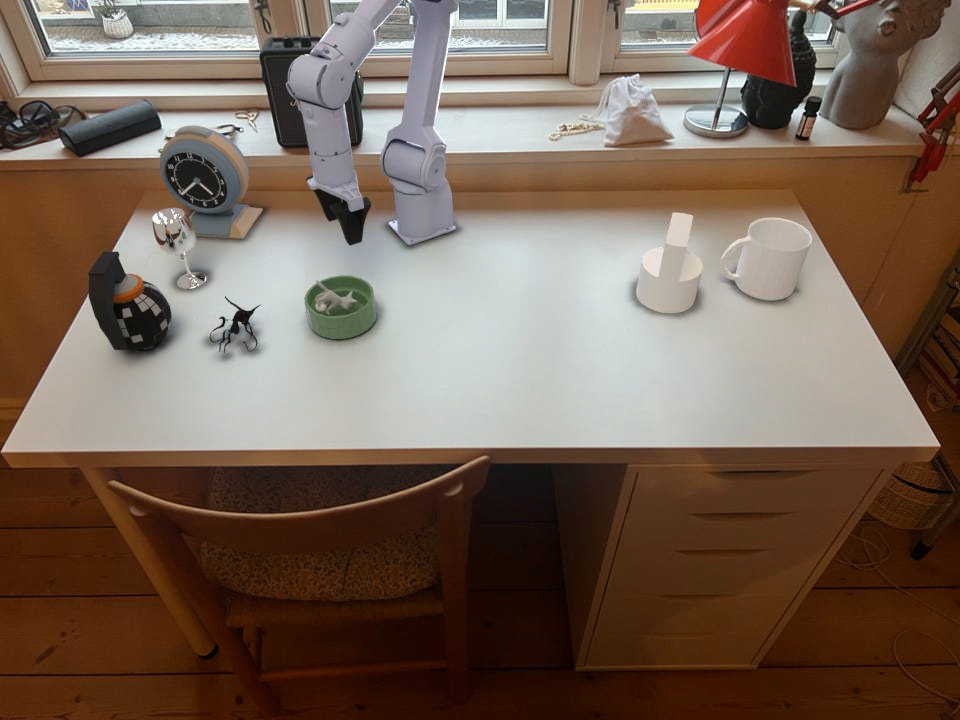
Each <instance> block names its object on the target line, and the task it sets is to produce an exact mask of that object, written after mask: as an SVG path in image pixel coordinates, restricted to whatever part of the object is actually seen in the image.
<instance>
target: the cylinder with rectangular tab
mask: <svg viewBox="0 0 960 720" xmlns="http://www.w3.org/2000/svg"><path fill="white" fill-rule="evenodd" d="M693 220H694V215H692V214H688V213H684V212H676V211H675V212H672V214H671V218H670V222H669V227H668V230H667V234H666V237H665V242H664V246H658V247H653V248H651V249H649V250H647V251H646V252H645V253H643V255H642V257H641V261H640V267H639V273H638V277H637V283H636V288H635V289H636V290H635V295H636V298H637V300H638V301H639V303H640V304H642V305H643V306H644V307H645V308H647V309H650V310H652V311H654V312H657V313H661V314H680V313H682V312H685V311H688V310H689V309H691V307H693V306H694V304H695V301H696V297H697V294H698V290H699V286H700V283H701V282H700V281H701V278H702V274H703V270H704V266H703V264H704V263H703V262H702V260H701V258H700V257H698V256H697V255H696V254H694V253H693V252H692V251H691V250H687V248H688V244H689V238H690V234H691V229H692V224H693Z"/></svg>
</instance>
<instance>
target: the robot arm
mask: <svg viewBox="0 0 960 720" xmlns="http://www.w3.org/2000/svg"><path fill="white" fill-rule="evenodd" d="M403 1H404V0H361V1H360V2H359V4H358V6H357V7H356V8H355V10H354V11H353V12H352V11H351V12H350V11H346V12H342V13H340V14H337V15H336V16H335V18H334V19H333V23H332V25H331V26H330V27H329V28H328V29H327V31H326V32H325V33H324V35H323V36H322V37H321V38H320V40H319V41H318V42H317V43H316V45H315V46H314V47H313V48H312V50H311V51H310V52H309V54H308V53H304V54H301V55H299V56H298V57H297V58H295V59H294V60H293V61H292V62H291V63H290V66H289V68H288V72H287V82H286V83H285V86H286V90H287V92H288V93H289V95H290V96H291V98H293V100H295V101H296V106H297V109H298V111H299V112H300V113H301V116H302V120H303V126H304V130H305V135H306V140H307V141H306V142H307V146H308V151H309V160H310V161H309V162H310V166H311V169H312V175H308V176H307V177H306V178H305V182H306V185H307V186H308V188H309V189H310V190H312V191H313V193H314V194H315V196H316V198H317V200H318V202H319V204H320V207H321V209H322V211H323V213H324V216H325V218H326V220H327V221H328V222H330V223H331V222H333V221H336V220H337V221H338V223H339V225H340V228H341V231H342V234H343V238H344V239H345V241H346V243H347V245H348V246H354V245H357V244H359V243H362V242H363V237H364V228H365V223H366V218H367V216H368V213H369V211H370V210H371V208H372V201H371V200H370V199H369V198H368V197H367V196H364V197H363V195H362V193H361V192H360V188H359V181H358V173H357V171H356V170H355V164H354V157H353V152H352V144H351V137H350V132H349V131H350V130H349V126H348V125H349V124H348V117H347V112H346V111H347V110H346V104H345V103H346V102H347V101H348V100H349V98H350V96H351V92H352V86H353V83H354V81H355V80H356V72H357V71H358V69H359V68H360V67H361V65H362V64H363V63H364V61H365V60H366V59H367V57H368V56H369V55H370V53H372V51H373V49H374V48H375V47H376V44H377V37H376V31H377V30H378V28H379V27H381V25H382V24H383V23H384V22H385V21H386V20H387V18H388V17H389V16H390V15H392V13H393V12H394V11H395V10H396V9H397V8H398V6H400V4H401V3H402V2H403ZM407 1H408V2H409V4H412V7H413V8H414V10H415V12H416V14H417V21H416V28H415V34H414V39H413V40H414V41H413V45H412V46H413V47H412V54H411V59H410V68H409V71H408V78H407V85H406V92H405V97H404V98H405V99H404V104H403V111H402V118H401V122H400V123H398V124H397V125H395V126H393V127H392V128H390V129H389V130H388V131H387V134H386V140H385V143H384V145H383V147H382V149H381V152H380V156H379V166H380V170H381V171H382V172H381V173H382V174H383V175H385V176H386V177H388V182H389V184H391V185H392V186H393V197H394V198H393V199H394V206H395V207H394V209H395V216H396V219H394V220H391V221H389V222H388V226H389V227H390V229H392V230H393V231H394V232H395V233H396V235H397V236H398V237H399V238H400V239H401V240H402V241H403V242H404V243H405V244H406V245H407V246H413V245H416V244H418V243H421V242H422V243H423V242H424V241H428V240H431V239H434V238H437V237H439V236H442V235H445V234H448V233H451V232H454V231H456V229H457V227H456V225H454V224H455V223H454V203H453V202H454V201H453V192H452V189H451V185H450V184H449V181H448V180H447V179H446V177H445V176H446V172H447V161H446V153H447V152H446V151H447V143H446V142H445V140H444V139H443V138H442V136H441V135H440V134H439V132H438V131H437V129H436V121H437V115H438V111H439V104H440V98H441V92H442V87H443V82H444V76H445V70H446V65H447V64H446V63H447V58H448V52H449V46H450V41H451V36H452V29H453V24H454V18H455V14H456V12H457V11H459V6H460V1H461V0H407Z"/></svg>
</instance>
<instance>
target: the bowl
mask: <svg viewBox="0 0 960 720" xmlns="http://www.w3.org/2000/svg"><path fill="white" fill-rule="evenodd" d="M318 281H319V282H320V283H322V284H323V285H324V286H325V287H326V288H327V289H328V290H331V291H333V292H334V293H335V294H337V295H338V296H339V297H346V296H347V295H348V294H349V293H350V292H351V291H353V292H352V298H353V299H354V300H357V302H354V306H353V307H352V309H353V312H352V313H350V314H349V312H347V311H345V310H343V309H342V308H341V307H338V308H333V309H331V310H329V313H330V314H329V315H328V314H327V313H326V311H325V312H322V313H321V312H318V311H317V310H316V309H315V305H316V301H315V298H316V296H317V295H318V294H321V293H322V292H324V291H325V290H323V289H322V288H320V287H319V286H318V284H317V282H315V283H314V284H313V285H312V286H311V287H309V289H307V291H306V293H305V295H304V298H303V299H304V307H305V311H306V315H307V319H308V324H309V326H310V328H311V329H312V331H313V332H314V333H315V334H317V335H319V336H320V337H323V338H327V339H332V340H334V339H335V340H345V339H350V338H354V337H357V336H359V335H361V334H363V333H365V332H366V331H368V330H369V329H370V328H372V326H374V324H375V322H376V320H377V316H378V314H377V306H376V299H375V298H376V297H375V292H374V288H373V286H372V285H371V284H370V282H369V281H367V280H366V279H363V278H361V277H359V276H354V275H342V274H341V275H334V276H329V277H326V278H323V279H321V280H318ZM318 299H319V298H318ZM328 302H329V301H328ZM328 302H325V303H326V305H327V304H328ZM327 308H329V307H327Z"/></svg>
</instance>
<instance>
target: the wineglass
mask: <svg viewBox="0 0 960 720" xmlns="http://www.w3.org/2000/svg"><path fill="white" fill-rule="evenodd" d="M151 220H152V231H153V236H154V239H155V242H156V244H157V246H158V247H159V248H160V249H161V250H162V251H163V252H164V253H166V254H168V255H173V256H179V259H180V261H181V263H182V264H183V265H184V268H185V270H186V273H184V274H183V275H181V276H180V277H179V278H178V279H177V281H176V282H177V285H178V287H179V288H181V289H184V290H191V289H196V288H199V287H200V286H202V285H203V284H204V283H205V282H206V281H207V276H206V274H204V273H203V272H200V271H191V270H190V266H189V264H188V256H187V253H188V252H190V251H191V250H192V249H194V247H195V245H196V243H197V236H196V233H195V229H194V227H193V225H192V223H191V221H190V219H189V216H188V215H187V213H186V212H185V210H183V209H182V208H179V207H168V208H163V209H161V210H159V211H157V212H156V213H155V214H153V216H152V218H151Z"/></svg>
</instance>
